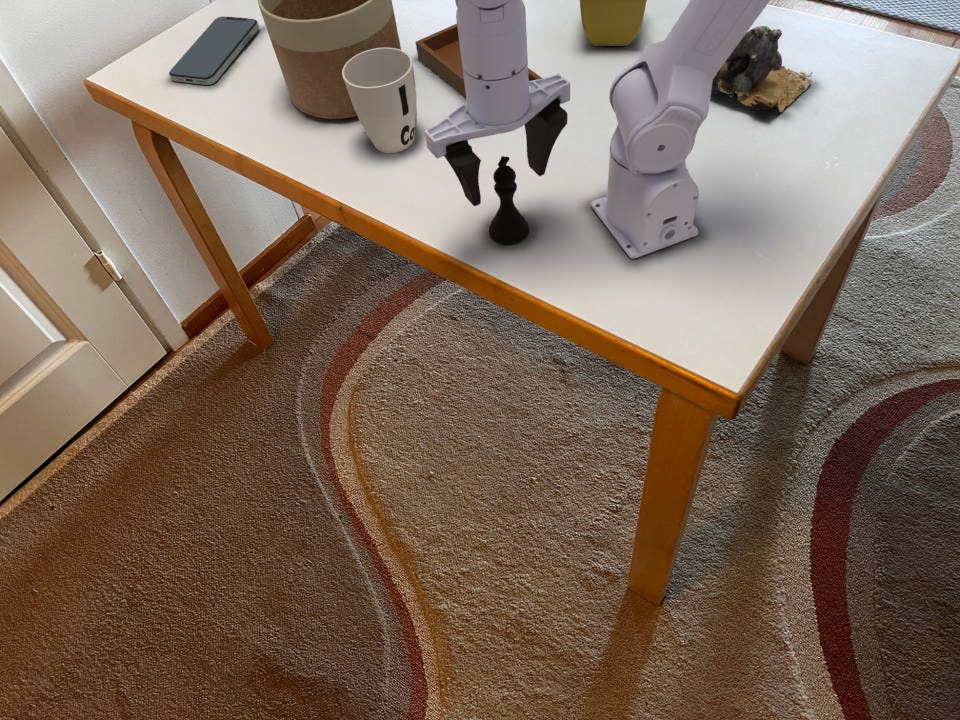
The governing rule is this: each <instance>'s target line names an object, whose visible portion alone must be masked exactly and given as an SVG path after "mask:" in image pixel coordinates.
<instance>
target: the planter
mask: <svg viewBox="0 0 960 720" xmlns="http://www.w3.org/2000/svg"><path fill="white" fill-rule="evenodd" d="M257 4H258V8H259V10H260V13H261V16H262V19H263V22H264V26H265V28H266V30H267V31H266V32H267V34H268V37H269V39H270V42H271V45H272V49H273V51H274V54H275V57H276V60H277V64H278V65H279V69H280V71H281V74H282V77H283V80H284V83H285V85H286V88H287V91H288V94H289V97H290V100H291V102H292V103H293V104H294V106H295V107H296V108H297V109H298V110H300V111H301V112H302V113H304V114H306V115H308V116H312V117H314V118H315V117H316V118H319V119H320V118H321V119H327V120H328V119H330V120H340V119H349V118H354V117H355V118H356V117H358V116H357V114H356V112H355V109H354V107H353V104H352V101H351V99H350V96H349V93H348V90H347V87H346V84H345V81H344V79H343V76H342V70H343V67H344V65H345V64H346V63H347V62H348V61H349V60H350V59H351V58H352V57H354V56H356V55H357V54H359V53H362V52H364V51H367V50H370V49H375V48H396V49H400V50H402V46H401V42H400V35H399V32H398V31H399V30H398V26H397V21H396V16H395V11H394V6H393V1H392V0H257Z"/></svg>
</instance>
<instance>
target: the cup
mask: <svg viewBox="0 0 960 720" xmlns="http://www.w3.org/2000/svg"><path fill="white" fill-rule="evenodd" d="M413 65H414V64H413V59H412V57H411V55H410V54H409V53H407V52H406V51H404V50H402V49H401V50H400V49H396V48H375V49H370V50H367V51H364V52H362V53H359V54H357V55H356V56H354V57H352V58H351V59H350V60H349V61H348V62H347V63H346V64H345V65H344V67H343V70H342V76H343V79H344V81H345V84H346V87H347V90H348V93H349V96H350V99H351V101H352V104H353V107H354V109H355V112H356V114H357V116H356V117H357V118H358V120H359V122H360V124H361V126H362V128H363V130H364V133H365V134H366V135H367V137H368V138H369V140H370V141H371V143H372V144H373V145H374V147H375V148H376V149H377V150H378V151H379V152H382V153H386V154H395V153H400V152H403V151H405V150H406V149H408V148H410V146H412V145H413V143H414V141H415V135H416V129H417V122H418V118H417V117H418V115H417V114H418V113H417V106H418V105H417V104H418V103H417V88H416V81H415V72H414V66H413Z"/></svg>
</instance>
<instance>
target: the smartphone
mask: <svg viewBox="0 0 960 720" xmlns="http://www.w3.org/2000/svg"><path fill="white" fill-rule="evenodd" d="M259 29H260V25H259V23H258V20H256V19H255V18H248V17H237V16H218V17H216V18H215V19H214V20H213V21H212V22H211V23H210V24H209V25H208V27H207V28H206V29H205V30H204V31H203V32H202V34H201V35H200V36H199V37H198V38H197V39H196V40H195V41H194V43H192V45H191V46H190V47H189V48H188V49H187V51H185V52H184V54H183V55H182V57H180V58H179V60H178V61H177V62H176V64H174V65H173V67H172V68H171V69H170V71H169V72H168V75H169V77H170V79H171V80H172V81H173V82H178V83H187V84H194V85H195V84H196V85H204V86H210V85H214V84H216V83H217V82H218V80H219V79H220V77H221V76H222V75H223V74H224V73H225V71H226V70H227V69H228V67H229V66H230V65H231V64H232V63H233V62H234V60H236V58H237V56H238V55H239V54H240V53H241V52H242V50H243V49H244V48H245V47H246V45H247V44H248V43H249V42H250V40H251V39H252V38H253V36H255V34H256V33H257V31H258V30H259Z"/></svg>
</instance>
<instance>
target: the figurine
mask: <svg viewBox="0 0 960 720" xmlns="http://www.w3.org/2000/svg"><path fill="white" fill-rule="evenodd" d="M782 34H783V31H782V30H781V29H780V28H777V29H771V28H770V27H768V26H767V25H766V26H765V25H760V26H759V25H758V26H756V27H753V28H751V29H749V30H748V31H747V33H746V34H745V35H744V37H743V38H742V39H741V41H740V42H739V44H738V45H737V46H736V48H735V49H734V50H733V52H732V53H731V54H730V56H729V57H728V59H727V60H726V61H725V63H724V64H723V65H722V67H721V68H720V69H719V71H718V72H717V73H716V75H715V76H714V78H713V82H712V89H711V90H715V91H717V92H716V94H715V98H717V97H718V96H717V94H719V92H721V93H725V94H726V95H728V97H730V98H733V97H734V93H735V94H736V95H737V96H736V98H737V99H736V101H738V103H741V104H742V105H744V106H746V107H749V108H752V110H753V111H754V110H756V111H761V110H762V111H763V110H764V111H766V110H771V109H772V110H773V111H774V112H775V114H777V113H783V111H784V109H785V108H786V107H788V106H790V105H791V104H792V103H793V102H794V101H795V100H796V98H798V97H799V95H801V94H802V93H803V92H805V91H806V90H807V89H808V88H809V87H812V83H813V80H812V79H808V78H810V77H812V75H813V73H814V72H813V71H810V73H808V74H807V73H806V72H804V71H800V72H797V71H795V70H793V69H791V67H789V68H786V66H784V65H783V58H782V54H781V52H780V51H779V40H780V38H781V37H782V36H783V35H782ZM762 119H765V116H763V117H762Z"/></svg>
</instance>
